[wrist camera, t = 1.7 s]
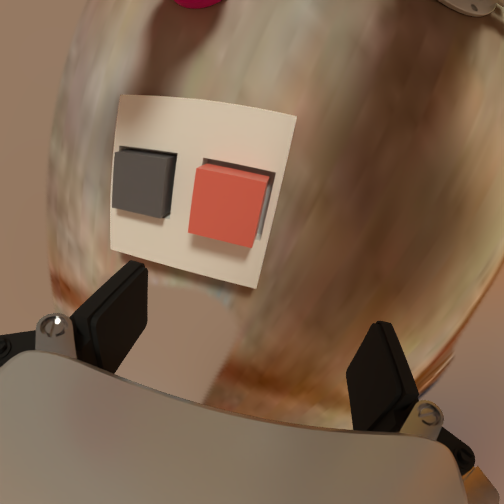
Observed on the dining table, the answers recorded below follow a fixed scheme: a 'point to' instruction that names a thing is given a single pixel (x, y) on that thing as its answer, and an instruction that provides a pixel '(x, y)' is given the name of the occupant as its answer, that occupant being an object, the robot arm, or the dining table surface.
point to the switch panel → (188, 159)
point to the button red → (227, 204)
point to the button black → (143, 182)
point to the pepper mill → (196, 3)
